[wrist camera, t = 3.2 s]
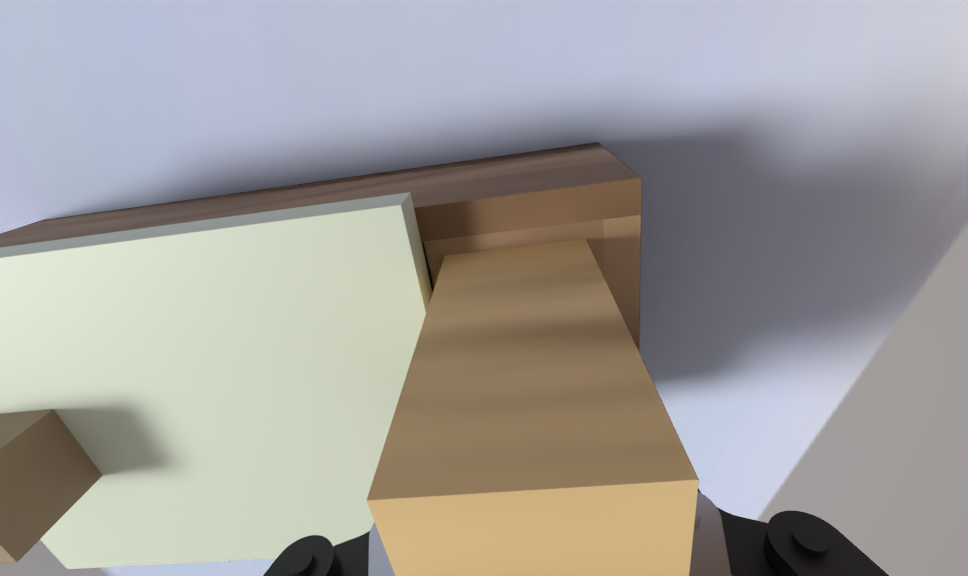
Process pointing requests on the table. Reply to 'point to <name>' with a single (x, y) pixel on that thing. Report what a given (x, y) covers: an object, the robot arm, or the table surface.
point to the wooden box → (448, 210)
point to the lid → (204, 382)
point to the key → (531, 431)
